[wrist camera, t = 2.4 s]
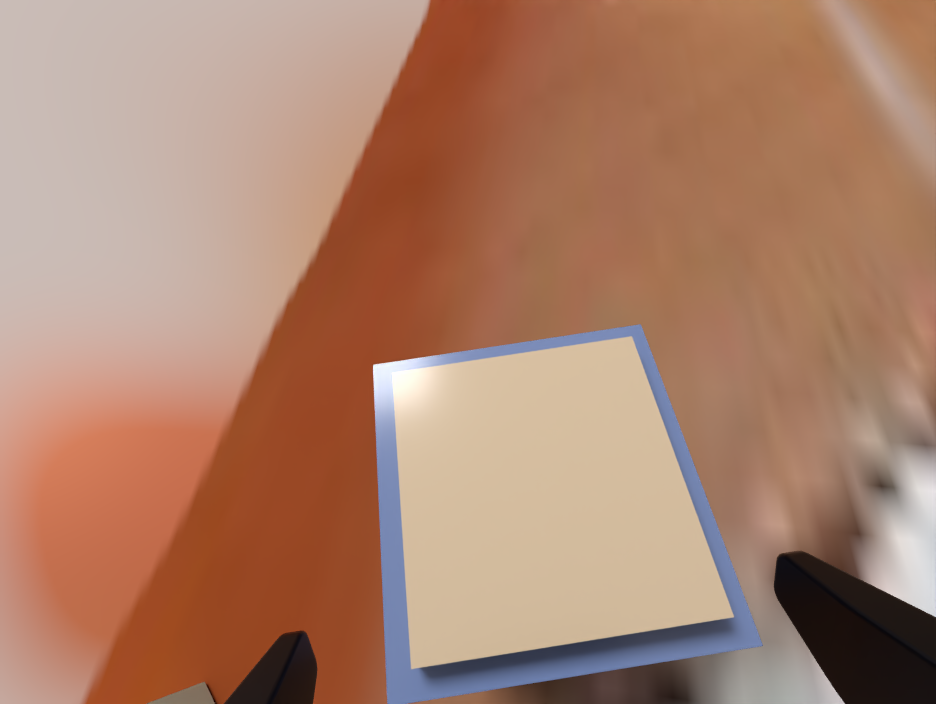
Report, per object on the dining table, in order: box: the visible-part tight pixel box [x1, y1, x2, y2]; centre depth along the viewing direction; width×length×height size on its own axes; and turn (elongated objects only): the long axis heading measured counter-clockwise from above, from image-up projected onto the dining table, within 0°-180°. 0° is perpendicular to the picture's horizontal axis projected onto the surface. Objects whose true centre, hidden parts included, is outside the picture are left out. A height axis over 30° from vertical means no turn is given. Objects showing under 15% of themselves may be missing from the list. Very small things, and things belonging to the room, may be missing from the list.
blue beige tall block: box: [373, 324, 763, 704], centre depth 12 cm, size 5×5×12 cm
